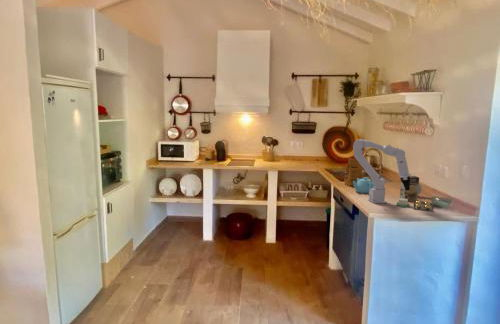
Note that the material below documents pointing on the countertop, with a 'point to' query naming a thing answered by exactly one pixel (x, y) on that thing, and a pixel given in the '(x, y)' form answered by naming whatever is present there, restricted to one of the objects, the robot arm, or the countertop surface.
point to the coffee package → (352, 172)
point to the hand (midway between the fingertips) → (407, 189)
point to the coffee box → (413, 191)
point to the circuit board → (403, 203)
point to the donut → (419, 189)
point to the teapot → (363, 185)
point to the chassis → (422, 206)
